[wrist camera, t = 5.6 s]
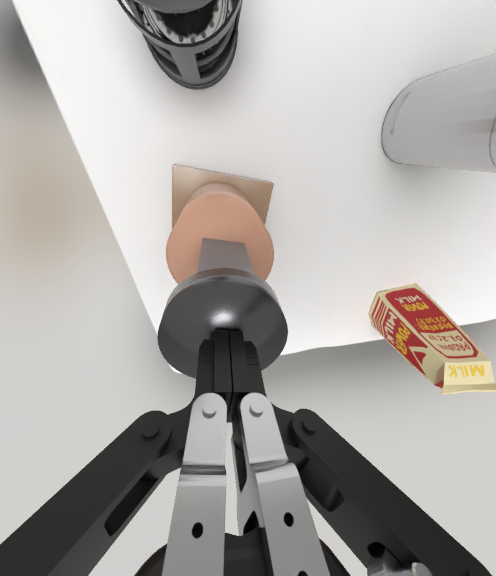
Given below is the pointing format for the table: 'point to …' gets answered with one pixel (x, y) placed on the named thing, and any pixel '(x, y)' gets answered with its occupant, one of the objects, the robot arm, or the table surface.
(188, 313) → the dark grey rounded piece
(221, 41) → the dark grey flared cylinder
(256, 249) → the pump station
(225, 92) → the table surface
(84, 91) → the table surface
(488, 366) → the milk carton
